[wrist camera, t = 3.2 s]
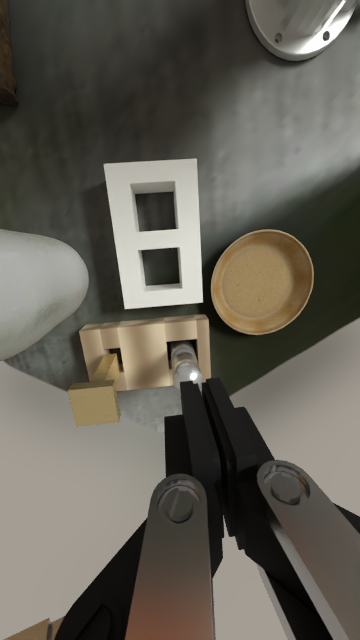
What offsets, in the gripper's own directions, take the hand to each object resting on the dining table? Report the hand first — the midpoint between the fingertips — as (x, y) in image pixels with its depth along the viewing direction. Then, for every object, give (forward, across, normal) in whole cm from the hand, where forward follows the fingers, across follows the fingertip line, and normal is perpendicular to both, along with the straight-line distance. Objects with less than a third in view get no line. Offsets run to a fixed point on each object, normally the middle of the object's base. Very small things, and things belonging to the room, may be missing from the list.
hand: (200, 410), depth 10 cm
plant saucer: (+26, -13, -1) cm, 29 cm away
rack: (+26, +1, -8) cm, 27 cm away
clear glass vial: (+26, -1, +8) cm, 27 cm away
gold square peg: (+22, +9, +8) cm, 25 cm away
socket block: (+26, +4, +8) cm, 27 cm away
